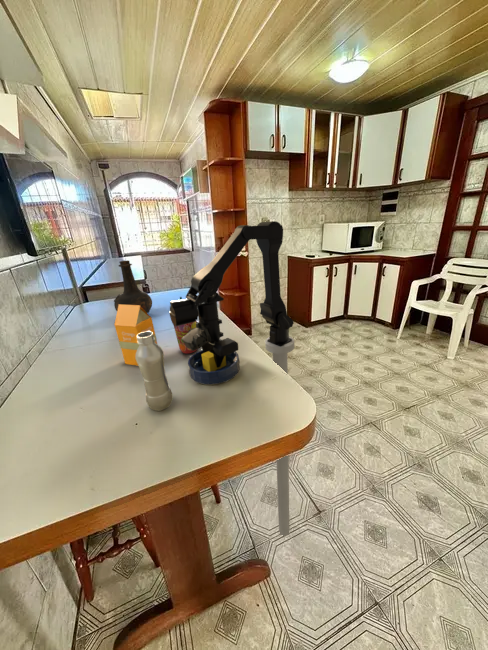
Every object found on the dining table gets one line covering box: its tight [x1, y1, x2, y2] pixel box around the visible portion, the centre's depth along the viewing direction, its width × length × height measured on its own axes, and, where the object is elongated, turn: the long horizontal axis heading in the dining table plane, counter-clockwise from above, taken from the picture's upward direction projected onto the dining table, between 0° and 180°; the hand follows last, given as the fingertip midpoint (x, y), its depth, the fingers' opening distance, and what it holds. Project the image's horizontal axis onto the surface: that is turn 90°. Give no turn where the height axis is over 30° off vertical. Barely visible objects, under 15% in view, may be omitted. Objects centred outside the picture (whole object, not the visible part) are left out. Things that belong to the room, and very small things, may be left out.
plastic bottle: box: [135, 331, 174, 412], centre depth 65 cm, size 6×7×20 cm
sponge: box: [201, 351, 226, 372], centre depth 82 cm, size 6×4×5 cm, turn 131°
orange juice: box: [113, 304, 158, 367], centre depth 88 cm, size 8×9×20 cm
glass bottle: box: [113, 260, 153, 314], centre depth 132 cm, size 18×18×28 cm
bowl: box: [187, 349, 241, 385], centre depth 81 cm, size 15×15×4 cm
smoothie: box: [173, 296, 197, 354], centre depth 93 cm, size 8×8×20 cm
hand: (214, 364), depth 83 cm, fingers closed on sponge, 4 cm apart
